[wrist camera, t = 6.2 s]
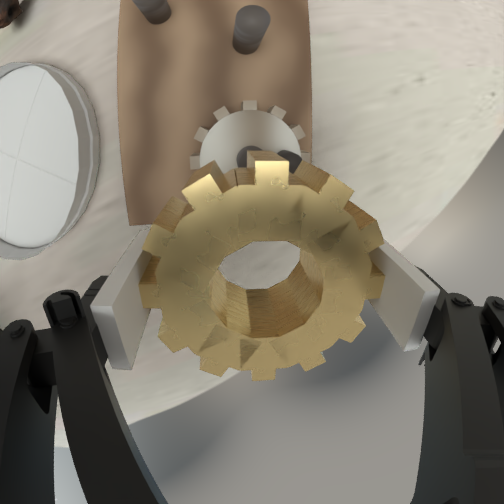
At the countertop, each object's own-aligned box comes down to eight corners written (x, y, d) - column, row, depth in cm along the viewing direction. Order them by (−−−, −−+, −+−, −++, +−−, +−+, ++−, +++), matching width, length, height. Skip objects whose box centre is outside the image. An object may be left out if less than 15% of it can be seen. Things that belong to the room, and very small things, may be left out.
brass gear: (171, 331, 17) (160, 381, 13) (150, 154, 13) (121, 167, 9) (336, 323, 18) (359, 369, 14) (360, 155, 13) (403, 169, 10)
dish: (134, 90, 25) (117, 85, 20) (75, 271, 32) (58, 292, 27) (-2, 54, 19) (-26, 51, 14) (-37, 209, 26) (-59, 221, 22)
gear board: (134, 219, 30) (105, 254, 22) (127, -10, 19) (99, -46, 11) (304, 209, 31) (333, 242, 23) (300, -19, 20) (326, -58, 12)
